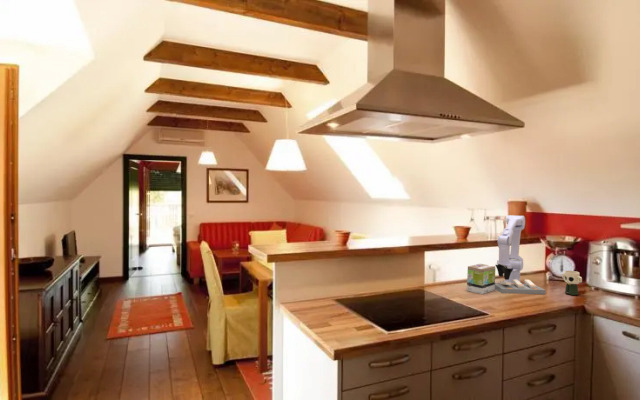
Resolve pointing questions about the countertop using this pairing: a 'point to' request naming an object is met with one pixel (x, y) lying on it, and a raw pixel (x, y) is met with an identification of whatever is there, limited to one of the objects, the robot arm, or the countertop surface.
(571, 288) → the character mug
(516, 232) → the robot arm
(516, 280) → the rocker
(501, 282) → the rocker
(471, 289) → the tea box
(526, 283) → the rocker
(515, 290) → the panel
